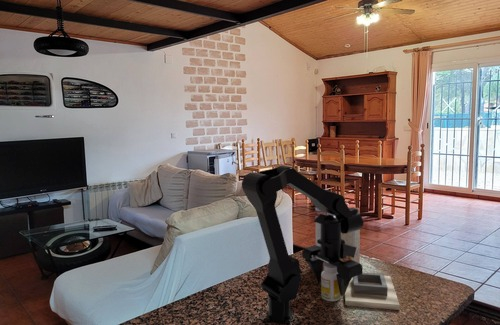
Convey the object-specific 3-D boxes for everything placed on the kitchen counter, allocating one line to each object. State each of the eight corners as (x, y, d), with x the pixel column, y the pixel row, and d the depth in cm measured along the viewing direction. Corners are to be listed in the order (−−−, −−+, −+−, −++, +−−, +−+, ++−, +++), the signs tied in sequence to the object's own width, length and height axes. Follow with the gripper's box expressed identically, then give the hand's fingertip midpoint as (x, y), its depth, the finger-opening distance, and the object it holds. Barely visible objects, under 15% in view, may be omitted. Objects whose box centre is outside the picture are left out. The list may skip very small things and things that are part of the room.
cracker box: (360, 266, 128) (360, 207, 125) (354, 273, 123) (355, 211, 120) (321, 259, 135) (321, 203, 132) (315, 265, 130) (314, 206, 127)
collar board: (399, 310, 99) (399, 295, 99) (345, 305, 102) (345, 291, 102) (389, 280, 117) (390, 268, 116) (343, 277, 120) (344, 265, 119)
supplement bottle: (338, 293, 110) (339, 261, 108) (341, 302, 104) (341, 269, 103) (320, 292, 110) (320, 261, 109) (322, 301, 105) (322, 268, 103)
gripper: (376, 239, 101) (375, 293, 103) (328, 223, 117) (328, 271, 119) (347, 248, 95) (347, 305, 97) (300, 230, 111) (301, 280, 113)
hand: (330, 288), depth 107 cm, fingers open, 9 cm apart
